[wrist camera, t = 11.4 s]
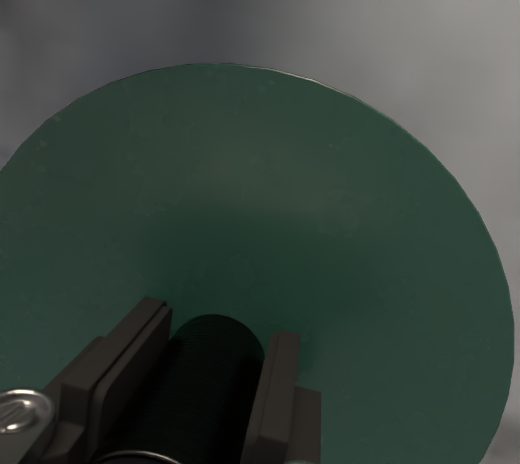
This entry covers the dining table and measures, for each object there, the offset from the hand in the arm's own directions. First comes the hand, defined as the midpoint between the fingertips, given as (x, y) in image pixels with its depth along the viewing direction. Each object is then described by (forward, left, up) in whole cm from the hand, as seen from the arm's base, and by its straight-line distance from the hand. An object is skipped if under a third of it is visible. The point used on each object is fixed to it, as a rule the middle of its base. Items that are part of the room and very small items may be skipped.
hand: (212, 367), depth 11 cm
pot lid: (0, 0, -1) cm, 1 cm away
